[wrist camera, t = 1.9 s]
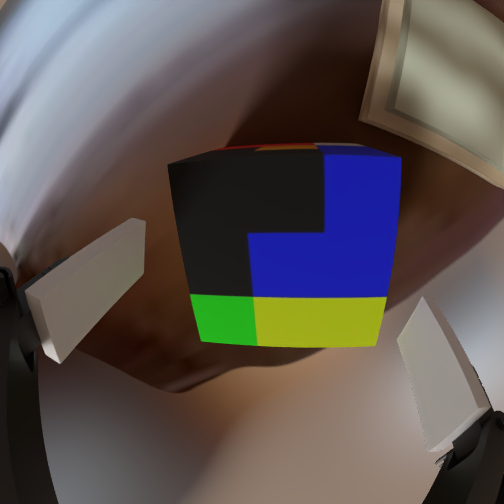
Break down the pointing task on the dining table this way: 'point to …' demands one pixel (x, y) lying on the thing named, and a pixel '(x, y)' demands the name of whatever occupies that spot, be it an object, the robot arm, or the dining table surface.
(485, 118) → the plinth
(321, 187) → the puzzle toy
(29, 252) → the dining table surface
